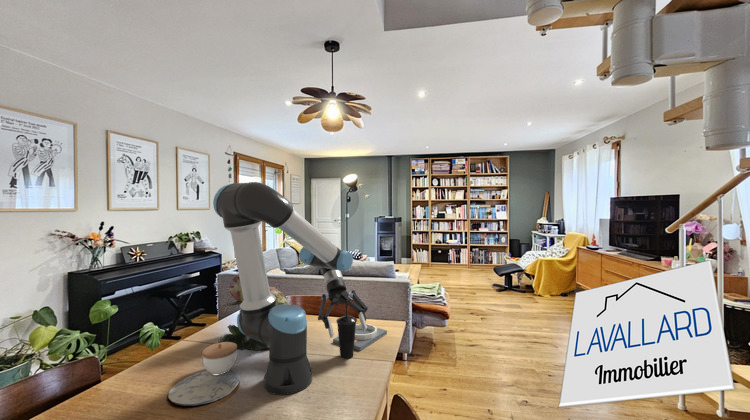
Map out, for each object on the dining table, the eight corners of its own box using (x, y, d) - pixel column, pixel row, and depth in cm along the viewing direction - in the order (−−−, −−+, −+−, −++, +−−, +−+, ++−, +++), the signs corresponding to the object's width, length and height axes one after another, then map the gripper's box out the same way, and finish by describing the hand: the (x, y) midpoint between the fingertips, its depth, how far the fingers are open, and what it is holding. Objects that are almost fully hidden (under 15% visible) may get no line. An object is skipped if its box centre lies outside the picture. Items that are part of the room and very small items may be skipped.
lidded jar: (199, 381, 104) (198, 352, 104) (207, 365, 114) (206, 339, 114) (234, 376, 107) (234, 348, 107) (239, 361, 117) (239, 335, 117)
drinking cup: (358, 351, 124) (358, 300, 124) (355, 361, 117) (354, 306, 116) (339, 350, 125) (338, 299, 125) (334, 360, 117) (334, 305, 117)
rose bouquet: (284, 350, 125) (283, 274, 125) (210, 350, 126) (209, 274, 125) (300, 326, 151) (300, 262, 151) (238, 326, 151) (238, 262, 151)
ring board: (360, 351, 125) (360, 342, 125) (332, 342, 132) (332, 334, 132) (387, 333, 142) (387, 325, 141) (361, 327, 149) (361, 319, 149)
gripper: (359, 284, 140) (375, 331, 127) (303, 291, 129) (314, 343, 115) (364, 274, 135) (381, 322, 122) (306, 281, 124) (318, 334, 111)
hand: (349, 332), depth 119 cm, fingers open, 12 cm apart
